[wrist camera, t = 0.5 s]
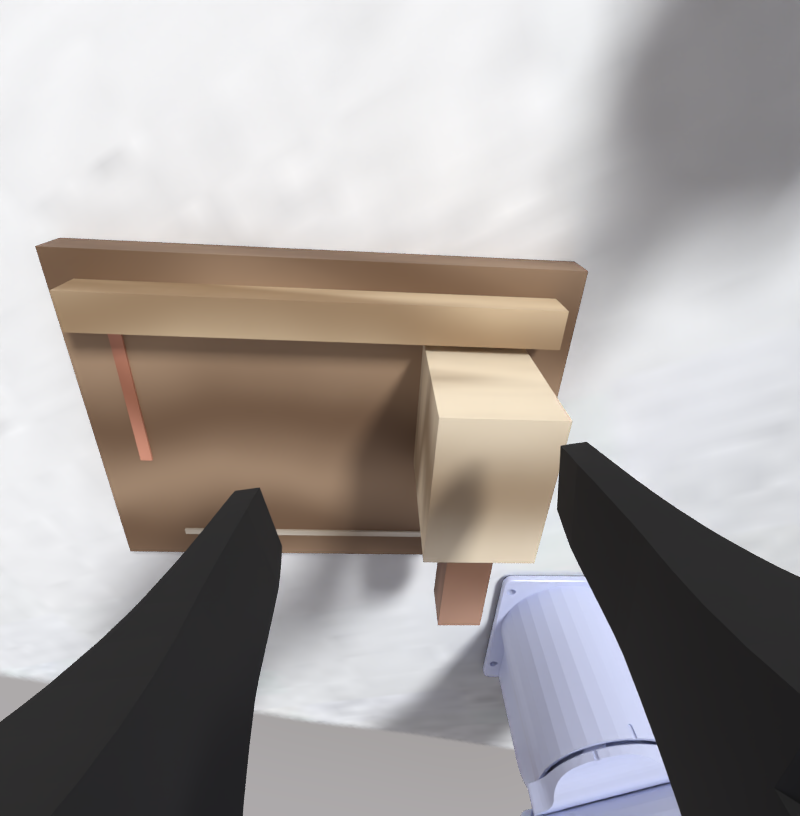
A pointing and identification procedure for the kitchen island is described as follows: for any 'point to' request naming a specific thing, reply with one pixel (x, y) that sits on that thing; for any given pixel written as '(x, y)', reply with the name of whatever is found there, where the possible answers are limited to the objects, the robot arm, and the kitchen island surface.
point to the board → (282, 375)
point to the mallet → (482, 467)
